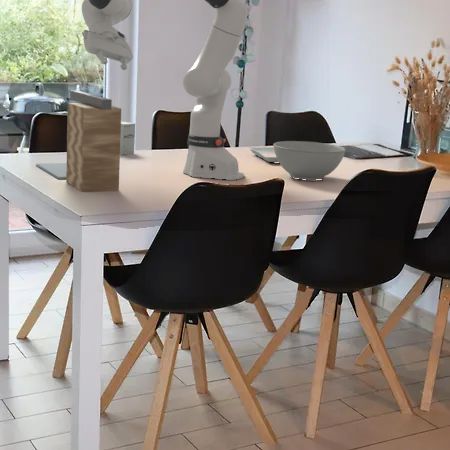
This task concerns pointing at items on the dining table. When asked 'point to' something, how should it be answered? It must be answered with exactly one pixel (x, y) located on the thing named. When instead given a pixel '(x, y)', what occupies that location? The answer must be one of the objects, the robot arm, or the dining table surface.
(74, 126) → the pedestal
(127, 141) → the supplement box
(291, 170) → the decorative bowl
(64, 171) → the mat
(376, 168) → the dining table surface
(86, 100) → the bar
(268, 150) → the square plate
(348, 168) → the dining table surface
